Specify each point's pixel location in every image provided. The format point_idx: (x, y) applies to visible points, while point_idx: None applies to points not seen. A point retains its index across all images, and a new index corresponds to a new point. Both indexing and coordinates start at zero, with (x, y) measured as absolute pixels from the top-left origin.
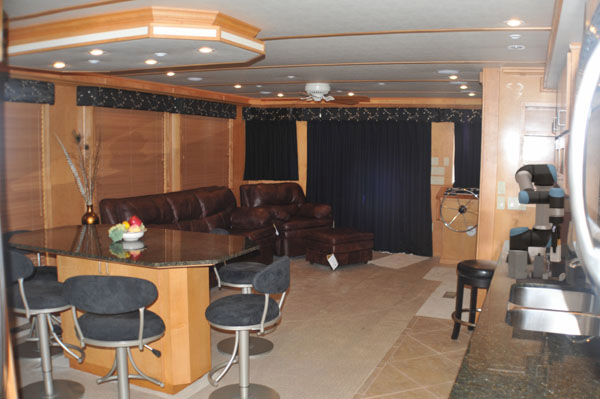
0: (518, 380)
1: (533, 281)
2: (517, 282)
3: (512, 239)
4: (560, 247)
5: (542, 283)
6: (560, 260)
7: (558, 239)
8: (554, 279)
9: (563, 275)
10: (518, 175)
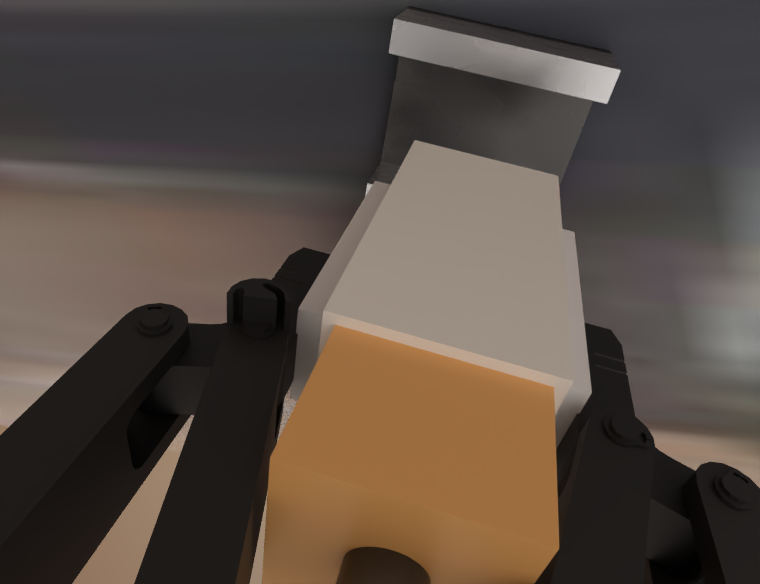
0: None
1: (636, 316)
2: (713, 426)
3: None
4: (418, 289)
5: (734, 252)
6: (442, 150)
7: (367, 522)
8: (534, 134)
9: (512, 42)
10: None
